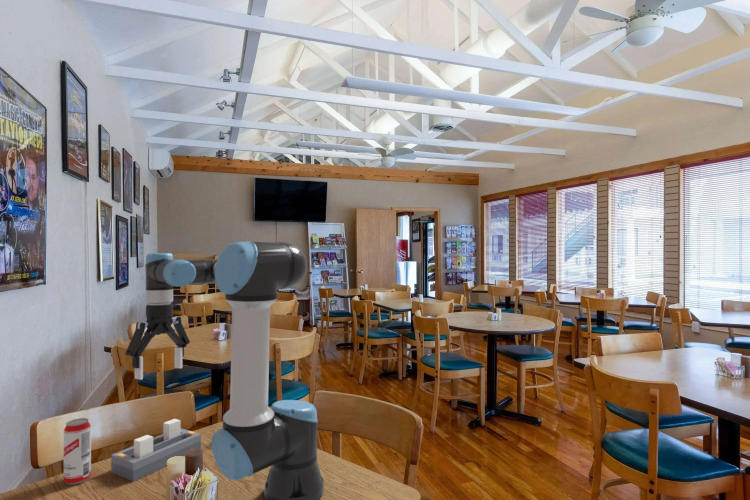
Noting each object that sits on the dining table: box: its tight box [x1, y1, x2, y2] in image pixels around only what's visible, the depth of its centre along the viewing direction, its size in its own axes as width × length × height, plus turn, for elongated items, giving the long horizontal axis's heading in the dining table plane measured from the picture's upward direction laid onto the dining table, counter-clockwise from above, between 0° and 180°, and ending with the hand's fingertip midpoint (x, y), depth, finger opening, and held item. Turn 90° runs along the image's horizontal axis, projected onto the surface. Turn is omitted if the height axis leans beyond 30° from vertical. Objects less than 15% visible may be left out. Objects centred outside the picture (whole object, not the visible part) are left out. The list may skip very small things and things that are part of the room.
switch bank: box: [110, 427, 202, 482], centre depth 133 cm, size 10×22×5 cm, turn 151°
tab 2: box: [162, 418, 182, 441], centre depth 139 cm, size 3×4×6 cm
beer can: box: [63, 417, 92, 486], centre depth 121 cm, size 6×6×16 cm
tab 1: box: [133, 434, 154, 459], centre depth 126 cm, size 3×4×6 cm
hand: (159, 373), depth 135 cm, fingers open, 13 cm apart
